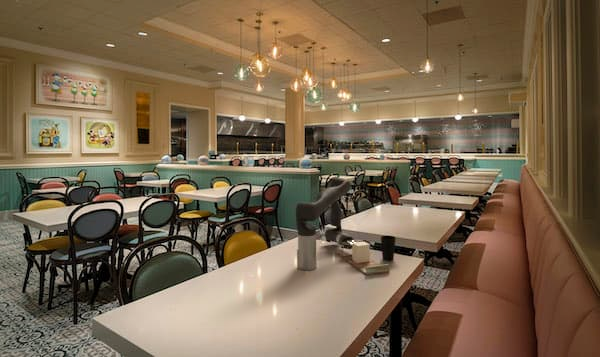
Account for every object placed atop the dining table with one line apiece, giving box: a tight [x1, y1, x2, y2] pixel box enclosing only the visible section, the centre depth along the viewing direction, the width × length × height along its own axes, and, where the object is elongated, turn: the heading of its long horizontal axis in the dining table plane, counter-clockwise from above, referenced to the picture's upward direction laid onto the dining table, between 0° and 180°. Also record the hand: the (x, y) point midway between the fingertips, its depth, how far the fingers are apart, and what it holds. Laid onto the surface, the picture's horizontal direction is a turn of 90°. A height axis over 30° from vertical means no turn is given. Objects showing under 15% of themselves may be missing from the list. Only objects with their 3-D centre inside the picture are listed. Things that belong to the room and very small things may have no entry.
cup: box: [380, 235, 397, 262], centre depth 186 cm, size 8×8×12 cm
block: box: [351, 241, 371, 263], centre depth 182 cm, size 6×7×9 cm
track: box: [341, 254, 390, 277], centre depth 179 cm, size 29×12×4 cm, turn 17°
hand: (358, 248), depth 184 cm, fingers closed
